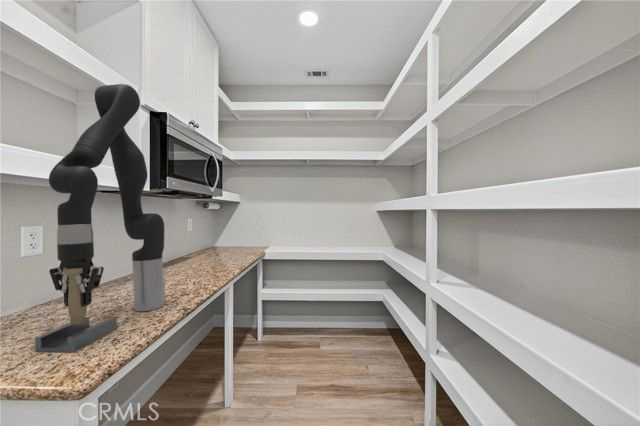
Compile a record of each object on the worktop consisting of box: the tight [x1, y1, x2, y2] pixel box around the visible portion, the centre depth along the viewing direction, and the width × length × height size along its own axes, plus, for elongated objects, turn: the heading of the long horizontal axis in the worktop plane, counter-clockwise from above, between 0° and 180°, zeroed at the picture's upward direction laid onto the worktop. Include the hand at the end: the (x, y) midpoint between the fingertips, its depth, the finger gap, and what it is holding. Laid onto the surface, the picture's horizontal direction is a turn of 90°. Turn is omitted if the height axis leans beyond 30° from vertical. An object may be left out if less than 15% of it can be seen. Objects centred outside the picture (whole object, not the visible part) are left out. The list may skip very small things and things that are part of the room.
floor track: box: [34, 316, 118, 353], centre depth 80 cm, size 14×10×4 cm
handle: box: [64, 268, 88, 325], centre depth 80 cm, size 5×6×15 cm
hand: (77, 305), depth 80 cm, fingers closed on handle, 4 cm apart
